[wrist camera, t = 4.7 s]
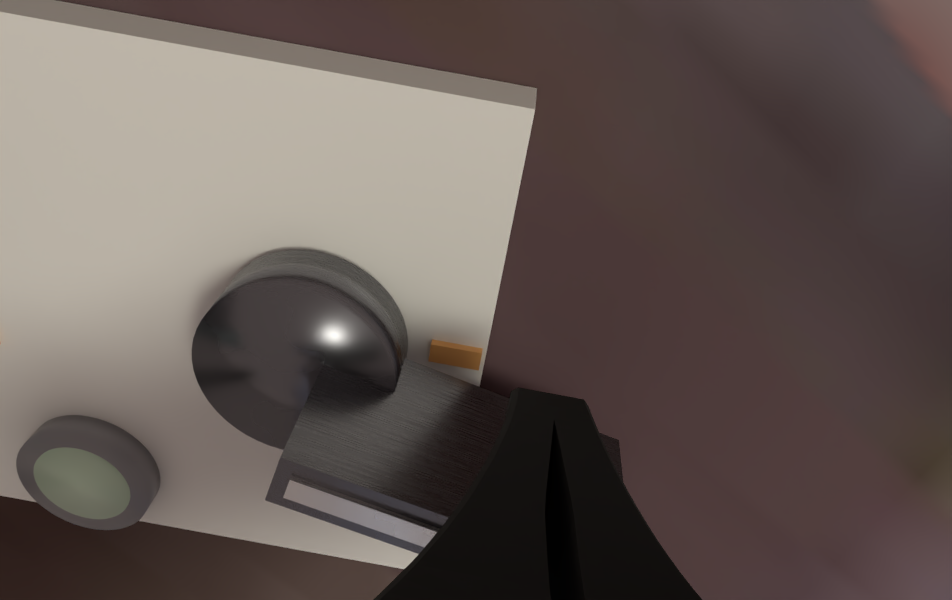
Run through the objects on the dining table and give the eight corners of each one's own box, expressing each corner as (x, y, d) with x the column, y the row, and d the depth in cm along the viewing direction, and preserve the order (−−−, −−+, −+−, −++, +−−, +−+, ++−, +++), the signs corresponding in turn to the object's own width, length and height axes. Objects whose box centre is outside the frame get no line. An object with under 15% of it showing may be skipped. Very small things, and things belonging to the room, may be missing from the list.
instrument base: (448, 535, 23) (437, 598, 21) (-189, 419, 23) (-258, 471, 21) (536, 88, 15) (534, 121, 13) (-403, -83, 15) (-540, -75, 13)
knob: (204, 369, 18) (108, 509, 14) (243, 219, 16) (141, 338, 12) (566, 502, 19) (568, 665, 15) (650, 380, 17) (678, 536, 13)
